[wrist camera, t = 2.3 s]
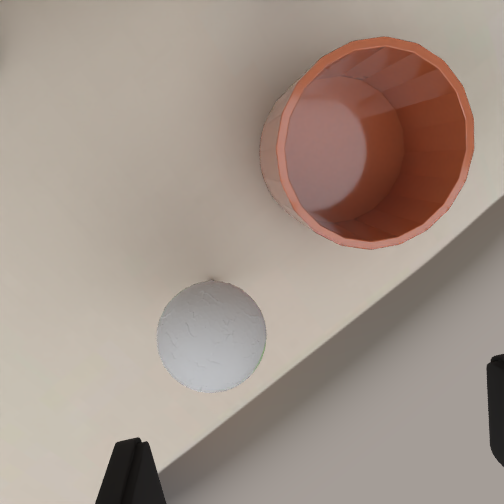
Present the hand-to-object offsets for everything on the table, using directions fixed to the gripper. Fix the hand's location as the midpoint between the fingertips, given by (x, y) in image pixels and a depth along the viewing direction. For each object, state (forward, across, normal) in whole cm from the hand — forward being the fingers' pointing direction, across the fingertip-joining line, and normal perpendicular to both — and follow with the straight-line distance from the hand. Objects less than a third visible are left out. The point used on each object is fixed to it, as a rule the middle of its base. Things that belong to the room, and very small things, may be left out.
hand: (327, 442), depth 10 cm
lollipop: (+27, +4, +3) cm, 27 cm away
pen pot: (+27, -10, -6) cm, 29 cm away
